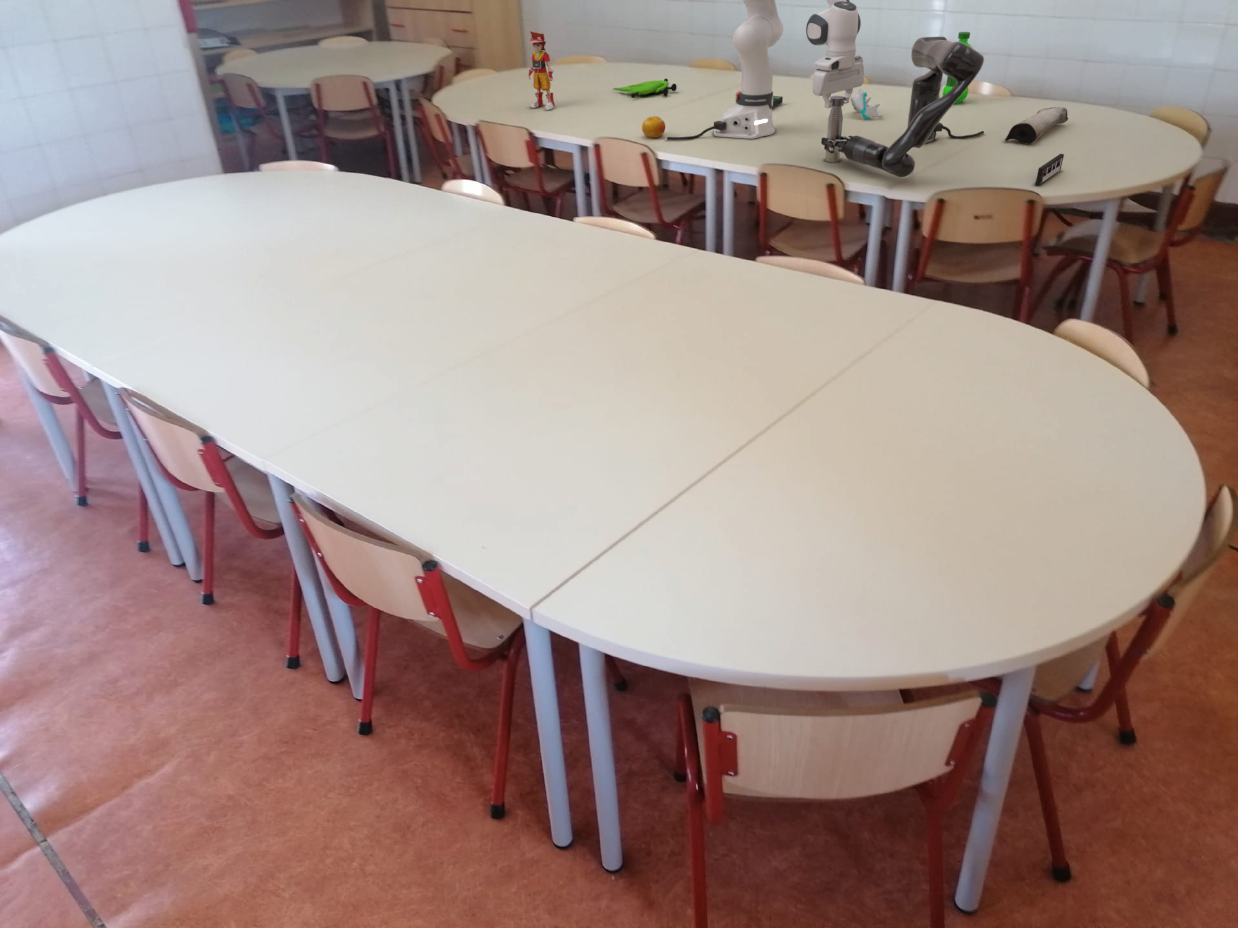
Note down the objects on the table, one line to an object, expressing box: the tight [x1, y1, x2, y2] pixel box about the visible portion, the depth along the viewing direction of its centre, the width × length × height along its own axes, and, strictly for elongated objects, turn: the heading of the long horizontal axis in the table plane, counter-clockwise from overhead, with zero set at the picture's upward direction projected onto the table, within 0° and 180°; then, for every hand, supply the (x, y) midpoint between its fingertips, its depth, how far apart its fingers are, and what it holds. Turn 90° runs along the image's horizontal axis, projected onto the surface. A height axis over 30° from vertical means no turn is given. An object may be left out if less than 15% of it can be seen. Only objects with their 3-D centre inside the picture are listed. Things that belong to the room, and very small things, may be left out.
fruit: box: [641, 115, 666, 138], centre depth 334 cm, size 8×8×8 cm
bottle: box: [824, 106, 844, 163], centre depth 296 cm, size 5×5×19 cm
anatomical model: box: [849, 88, 885, 120], centre depth 343 cm, size 15×10×10 cm
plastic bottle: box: [942, 31, 974, 104], centre depth 348 cm, size 10×10×25 cm
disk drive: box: [772, 95, 784, 109], centre depth 364 cm, size 10×3×15 cm
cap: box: [829, 95, 845, 107], centre depth 290 cm, size 4×4×2 cm
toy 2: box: [612, 78, 677, 99], centre depth 396 cm, size 28×5×30 cm
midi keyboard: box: [1035, 153, 1065, 186], centre depth 273 cm, size 18×1×5 cm, turn 138°
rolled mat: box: [1004, 106, 1069, 145], centre depth 312 cm, size 30×9×10 cm
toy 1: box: [527, 31, 556, 111], centre depth 374 cm, size 12×9×30 cm
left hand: (836, 105), depth 291 cm, fingers open, 7 cm apart
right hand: (828, 139), depth 299 cm, fingers closed on bottle, 4 cm apart
